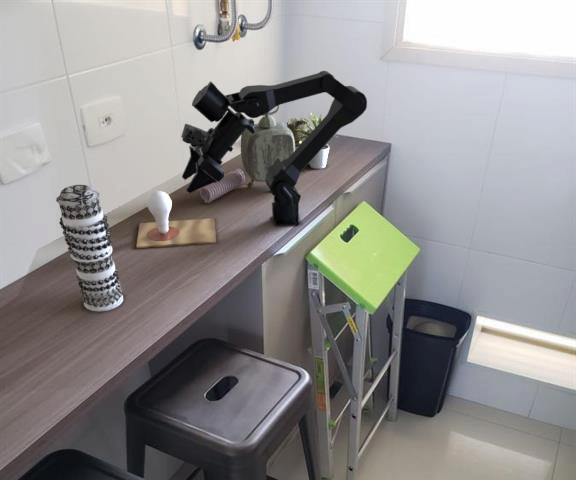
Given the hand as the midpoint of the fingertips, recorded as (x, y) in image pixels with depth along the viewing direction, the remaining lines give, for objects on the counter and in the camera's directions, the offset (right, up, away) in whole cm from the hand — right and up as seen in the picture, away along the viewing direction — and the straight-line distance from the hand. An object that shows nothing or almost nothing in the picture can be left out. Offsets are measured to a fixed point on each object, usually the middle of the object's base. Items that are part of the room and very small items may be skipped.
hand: (185, 184), depth 147 cm
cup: (+29, +35, +61) cm, 76 cm away
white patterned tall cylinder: (-15, -32, -18) cm, 39 cm away
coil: (+6, +7, +28) cm, 30 cm away
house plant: (+36, +22, +46) cm, 62 cm away
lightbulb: (-7, -11, +6) cm, 14 cm away
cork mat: (-4, -10, +7) cm, 13 cm away
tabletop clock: (+20, +9, +30) cm, 38 cm away
